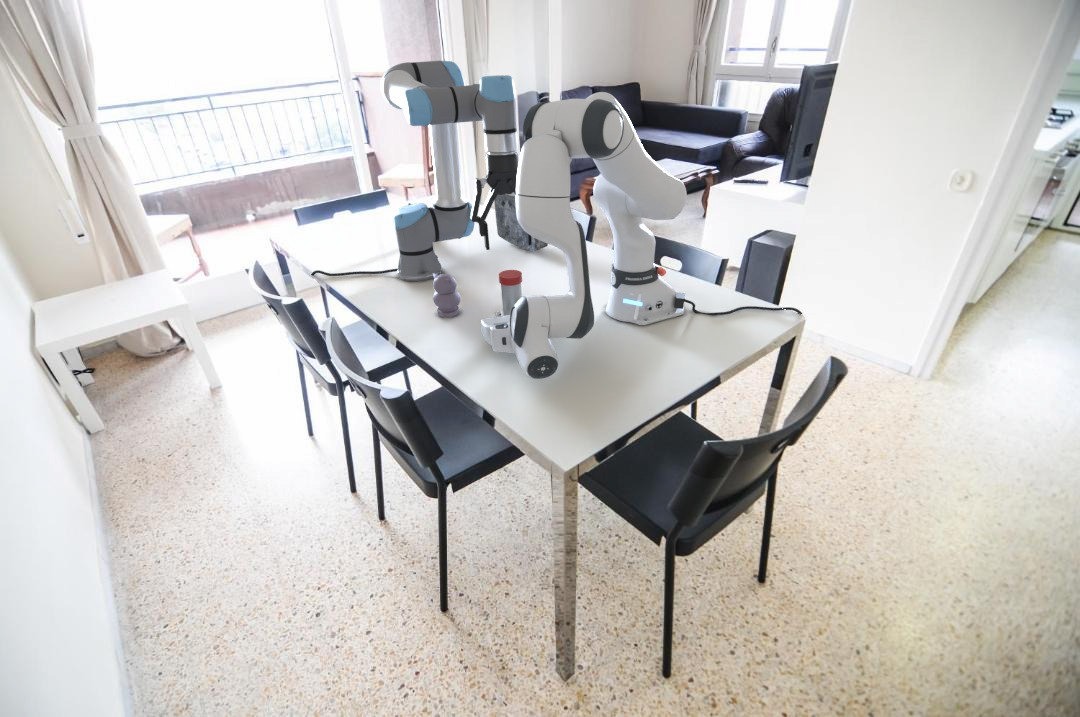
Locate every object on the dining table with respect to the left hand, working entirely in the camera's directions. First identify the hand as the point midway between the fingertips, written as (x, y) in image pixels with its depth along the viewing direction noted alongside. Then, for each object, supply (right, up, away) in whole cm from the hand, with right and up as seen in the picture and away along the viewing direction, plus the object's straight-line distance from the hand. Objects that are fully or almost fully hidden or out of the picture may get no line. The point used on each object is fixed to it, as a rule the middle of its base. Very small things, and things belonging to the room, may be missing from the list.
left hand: (508, 245), depth 126 cm
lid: (0, -7, +4) cm, 8 cm away
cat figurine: (-19, -15, +22) cm, 33 cm away
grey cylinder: (+1, -20, +12) cm, 24 cm away
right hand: (+1, -16, +7) cm, 18 cm away
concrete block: (+2, +15, +71) cm, 72 cm away
